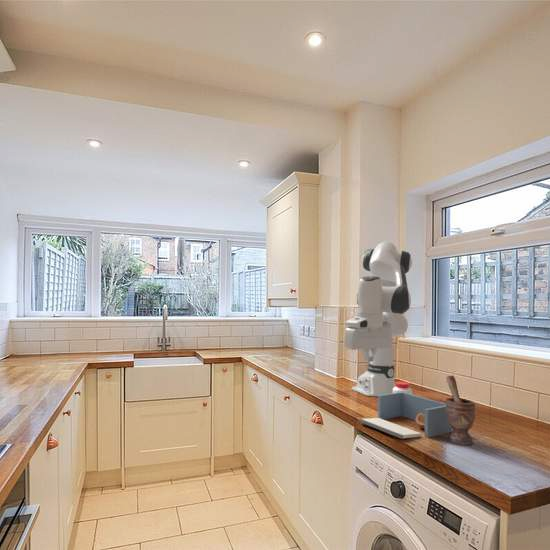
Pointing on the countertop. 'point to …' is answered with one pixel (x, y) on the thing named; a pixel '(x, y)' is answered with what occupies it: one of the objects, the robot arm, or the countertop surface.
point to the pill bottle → (402, 387)
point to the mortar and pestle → (459, 415)
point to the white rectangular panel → (390, 428)
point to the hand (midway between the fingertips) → (369, 361)
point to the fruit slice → (420, 420)
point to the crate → (415, 411)
